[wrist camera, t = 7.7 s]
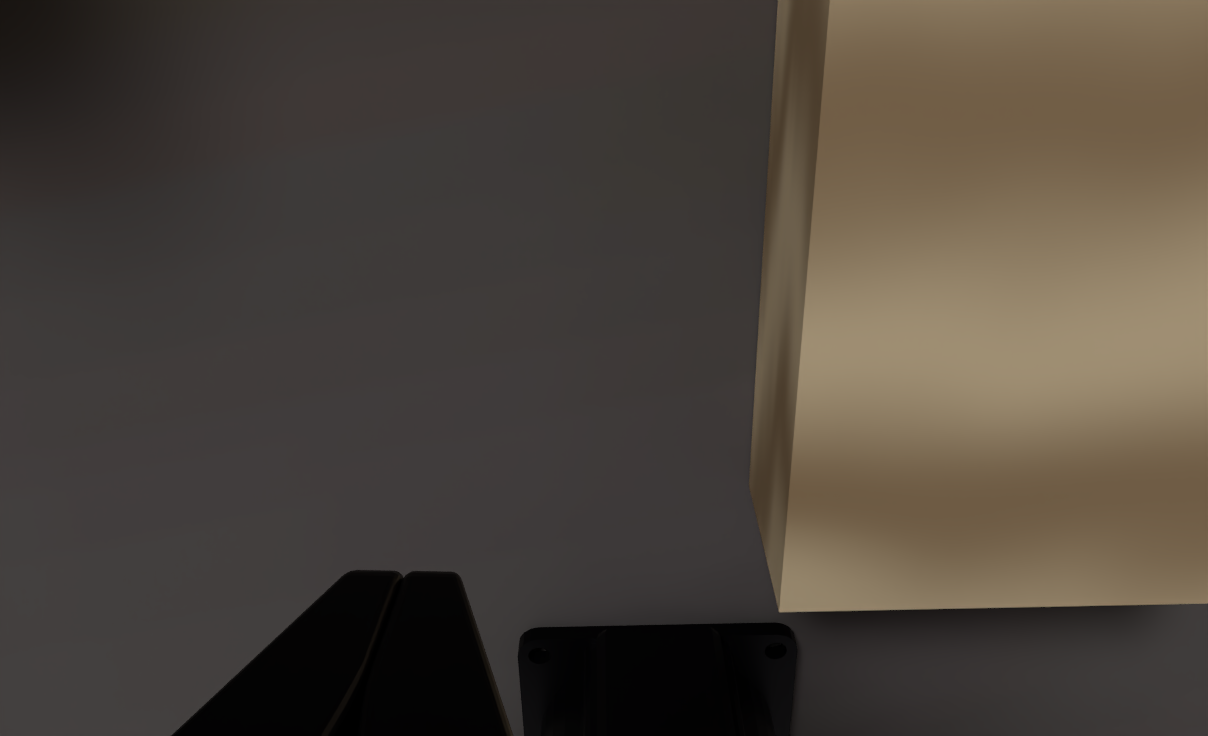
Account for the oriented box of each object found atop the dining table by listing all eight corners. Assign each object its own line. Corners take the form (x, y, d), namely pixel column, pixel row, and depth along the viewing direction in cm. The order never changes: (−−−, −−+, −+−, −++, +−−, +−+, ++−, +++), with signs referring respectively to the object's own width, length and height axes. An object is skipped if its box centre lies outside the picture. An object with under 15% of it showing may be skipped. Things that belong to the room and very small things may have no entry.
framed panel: (1117, 478, 22) (1218, 603, 18) (749, 486, 22) (779, 611, 18) (1420, -652, 13) (1725, -831, 10) (816, -638, 13) (896, -813, 10)
